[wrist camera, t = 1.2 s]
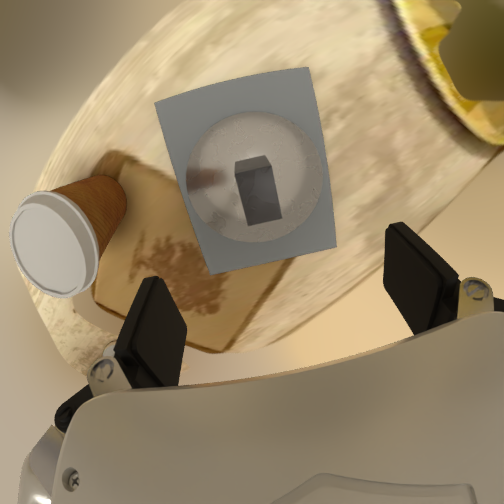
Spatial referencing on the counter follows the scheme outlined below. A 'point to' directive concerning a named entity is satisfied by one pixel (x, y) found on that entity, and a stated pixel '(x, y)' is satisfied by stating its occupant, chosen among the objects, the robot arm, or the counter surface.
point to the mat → (235, 102)
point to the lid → (254, 177)
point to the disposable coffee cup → (66, 233)
